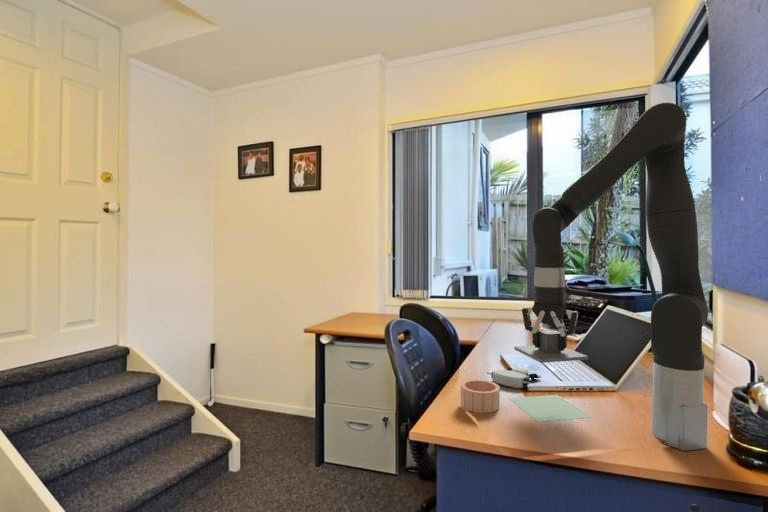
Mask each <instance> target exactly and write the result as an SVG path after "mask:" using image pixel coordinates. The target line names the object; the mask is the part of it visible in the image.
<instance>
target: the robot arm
mask: <svg viewBox="0 0 768 512" xmlns="http://www.w3.org/2000/svg"><path fill="white" fill-rule="evenodd" d="M686 130H687V116H686V112H685V110H684V109H683V108H682V107H681V106H680V105H678V104H676V103H672V102H661V103H657V104H655V105H652V106H650V107H649V108H648V109H646V110H645V111H644V112H643V114H641V116H640V117H639V118H638V119H637V120H636V121H635V123H634V124H633V125H632V127H631V128H629V130H628V131H627V132H626V134H624V135H623V137H621V139H619V141H618V142H617V143H616V144H615V145H614V146H613V147H612V148H611V149H610V150H609V151H608V152H607V153H606V154H605V155H604V156H603V157H601V158H600V159H599V160H598V161H597V162H596V163H594V165H592V166H591V167H590V168H589V169H588V170H587V171H585V172H584V173H583V174H582V175H580V177H578V178H577V179H576V180H575V181H574V182H573V183H572V184H570V186H568V187H567V188H565V190H564V191H563V192H562V194H561V197H560V198H559V199H558V200H556V201H555V202H554V204H552V205H551V206H550V207H543V208H541V209H539V210H537V211H536V212H535V214H534V216H533V218H532V235H533V237H532V238H533V242H534V248H535V253H534V255H535V256H534V260H535V261H534V276H533V277H534V278H533V285H534V287H533V294H534V295H533V297H534V298H533V302H534V303H533V306H532V307H528V306H526V307H523V308H522V309H521V312H522V318H523V319H522V320H523V324H524V330H526V331H529V332H531V333H532V345H535V347H536V348H538V339H539V333H538V331H540V329H541V326H542V325H543V324H551V325H555V326H556V328H557V330H558V333H560V335H561V336H560V351H563V350H564V349H565V348H568V336H572V335H573V334H575V332H576V329H577V328H576V327H577V324H578V318H579V311H578V310H574V311H573V310H571V309H570V310H569V309H568V308H567V306H566V273H565V272H566V271H565V251H564V247H563V245H562V232H563V231H565V229H567V228H568V227H569V226H570V225H571V224H572V223H573V222H574V221H575V220H576V219H577V218H578V217H579V216H580V215H581V214H582V213H583V212H584V211H585V210H588V208H589V207H591V206H592V205H594V203H596V202H598V201H599V199H601V198H602V197H603V196H605V195H606V194H607V193H608V192H609V191H610V189H612V187H614V186H615V184H617V182H618V181H619V180H620V179H621V178H622V177H623V176H624V175H625V174H626V173H627V172H628V171H629V170H630V169H631V168H632V167H633V166H635V164H637V163H638V162H639V161H640V160H642V159H643V158H644V162H645V166H646V175H647V178H646V190H645V191H646V192H645V217H646V225H647V226H646V228H647V233H648V240H649V242H650V246H651V249H652V251H653V254H654V256H655V259H656V261H657V264H658V266H659V271H660V277H661V279H660V280H661V297H660V298H658V299H657V300H656V301H655V302H654V304H653V305H652V309H651V311H650V348H651V351H652V354H653V355H652V356H653V358H652V359H653V363H652V364H653V365H652V367H653V368H652V395H651V397H652V400H651V403H652V405H651V434H652V435H653V436H654V437H656V438H657V439H659V440H660V442H661V441H662V442H661V443H662V444H663V445H667V446H668V447H673V448H676V449H679V450H680V451H694V450H702V449H707V447H708V444H707V443H708V442H707V440H708V439H707V437H708V411H709V410H708V408H709V407H708V405H707V404H706V403H704V389H705V388H704V384H705V356H704V354H703V346H702V344H703V343H702V342H703V335H702V334H703V327H704V326H705V324H706V323H707V321H708V317H709V307H708V305H707V301H706V297H705V294H704V289H703V284H702V279H701V275H700V274H701V273H700V267H699V263H700V262H699V235H698V234H699V232H698V231H699V230H698V218H697V212H696V204H695V199H694V195H693V191H692V187H691V184H690V180H689V178H688V174H687V170H686V166H685V165H686V164H685V140H686V139H685V138H686ZM589 209H590V208H589ZM533 313H534V315H535V316H536V317H537V318H536V320H535V323H534V325H533V323H532V319H531V316H532V314H533ZM565 315H567V318H568V319H569V320H570V321H569V324H568V325H569V326H568V329H567V328H566V326H565V322H564V321H563V319H564V317H565Z"/></svg>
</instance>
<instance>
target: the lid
mask: <svg viewBox="0 0 768 512" xmlns="http://www.w3.org/2000/svg"><path fill="white" fill-rule="evenodd" d="M538 333H539V339H538V348H536V347H535V345H533V344H532V345H520V346H519V345H518V346H514V351H517V352H519V353H521V354H523V355H524V356H526V357H528V358H531V359H533V360H534V361H536V362H539V363H540V364H541V363H542V364H543V363H556V362H557V363H558V362H572V361H573V362H574V361H586V360H587V361H588V360H589V356H588V355H586V354H583V353H582V352H581V353H580V352H578V351H575V350H574V349H571V348H568V347H566V348H565V349H564V350H563V351H560V336H561V335H560V332H559V331H555V330H539V331H538Z"/></svg>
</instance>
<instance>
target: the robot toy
mask: <svg viewBox="0 0 768 512" xmlns="http://www.w3.org/2000/svg"><path fill="white" fill-rule="evenodd" d="M486 374H487V375H490V376H491V380H492V382H494V383H496V384H497V385H502V386H506V387H510V388H515V389H521V388H523V389H524V388H525V387H526V386H528V385H530V384H531V382H530V379H529V378H531V379H534V378H537V379H541V377H542V375H539V374H537V373H535V372H534V373H529V371H528V369H525V368H522V367H513V368H511V367H507V368H506V369H497V370H494V371H491V373H490V372H486Z"/></svg>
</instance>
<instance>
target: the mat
mask: <svg viewBox="0 0 768 512" xmlns="http://www.w3.org/2000/svg"><path fill="white" fill-rule="evenodd" d="M508 400H509V401H511V402H512V403H513V404H514V405H515V406H517V407H518V408H520V410H522V411H523V412H524V413H526V414H527V415H529V417H531V418H532V419H533V420H534V421H536V422H537V423H543V422H552V421H564V420H574V419H576V420H577V419H587V418H588V419H589V418H593V416H592V415H590V414H589V413H587V412H586V411H584V410H583V409H580V408H579V407H577V406H576V405H574V404H572V402H570V401H568V400H566V399H565V398H563V397H562V396H560V395H558V394H551V395H550V394H548V395H547V394H546V395H537V396H524V397H523V396H522V397H511V398H508Z"/></svg>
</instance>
